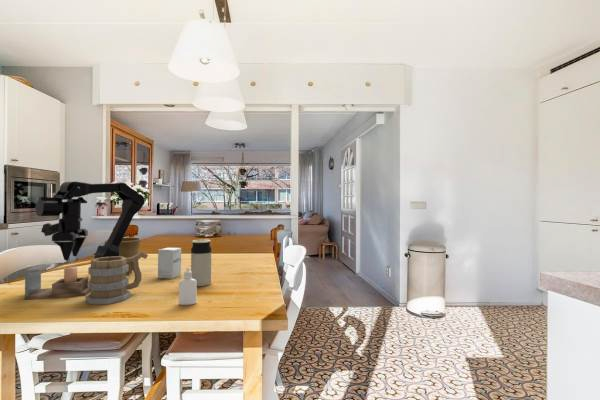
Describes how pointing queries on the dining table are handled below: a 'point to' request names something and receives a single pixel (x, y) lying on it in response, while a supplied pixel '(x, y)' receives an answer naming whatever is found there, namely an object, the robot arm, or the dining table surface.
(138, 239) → the plant pot
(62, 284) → the socket block
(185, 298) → the eye dropper bottle
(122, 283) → the tankard
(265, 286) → the dining table surface
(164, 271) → the supplement box
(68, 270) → the peg
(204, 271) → the travel mug
